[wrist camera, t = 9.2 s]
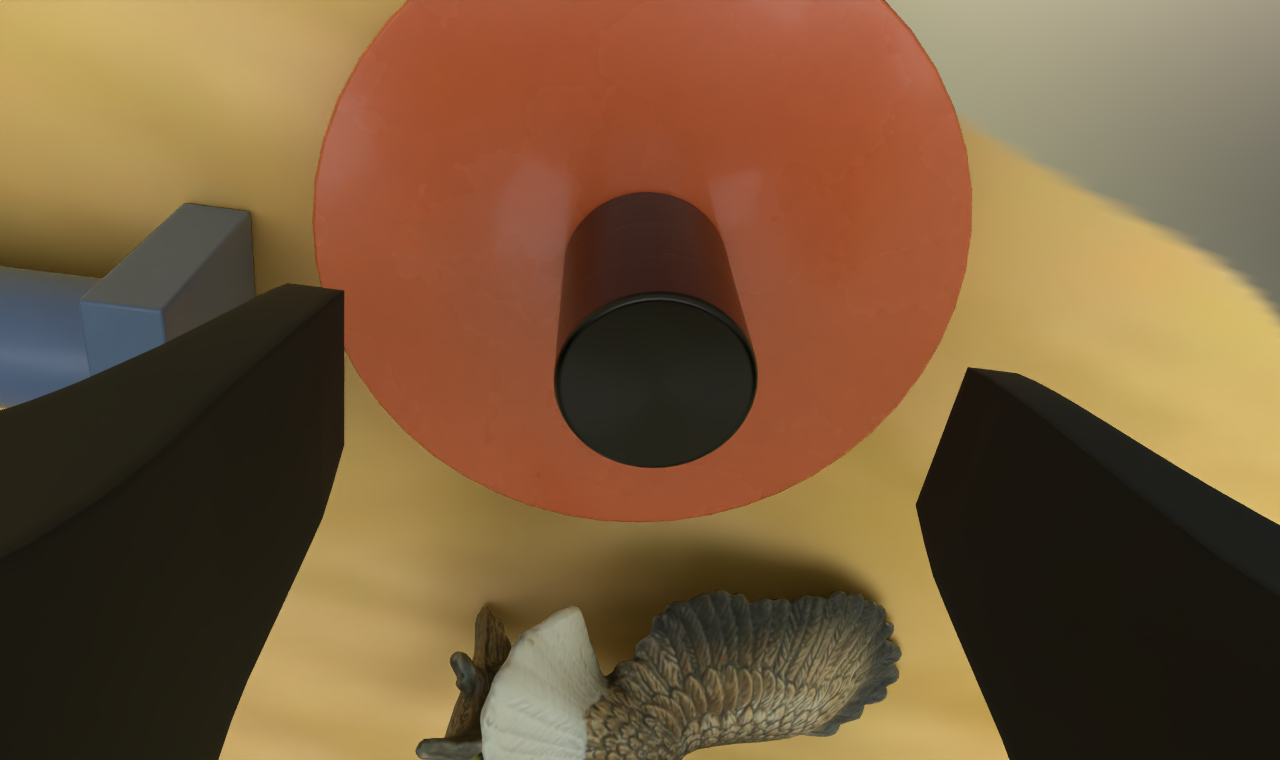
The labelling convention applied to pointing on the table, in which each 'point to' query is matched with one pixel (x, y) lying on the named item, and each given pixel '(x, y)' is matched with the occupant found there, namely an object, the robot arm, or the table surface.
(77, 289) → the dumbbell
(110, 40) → the table surface
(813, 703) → the eagle figurine
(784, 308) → the lid
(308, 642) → the table surface
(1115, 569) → the robot arm
